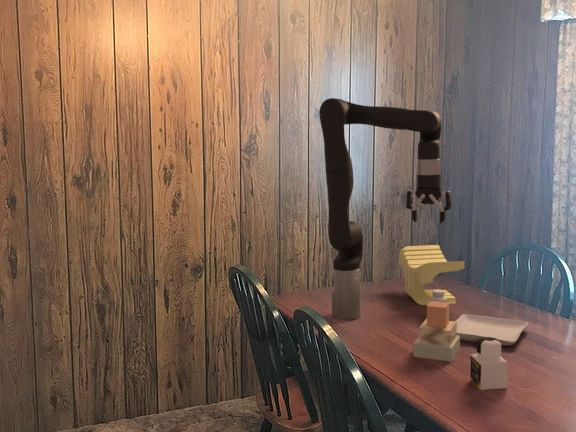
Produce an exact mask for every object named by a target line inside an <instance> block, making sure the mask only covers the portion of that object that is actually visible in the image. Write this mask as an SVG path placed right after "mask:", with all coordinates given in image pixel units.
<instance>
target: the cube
mask: <svg viewBox="0 0 576 432" xmlns="http://www.w3.org/2000/svg"><path fill="white" fill-rule="evenodd" d="M450 305H451V304H450V303H448V302H436V301H430V303H429V304H428V305H426V319H427V326H430V327H440V328H446V327H447V326H448V324H449V321H450Z"/></svg>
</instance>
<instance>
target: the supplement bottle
mask: <svg viewBox="0 0 576 432" xmlns="http://www.w3.org/2000/svg"><path fill="white" fill-rule="evenodd" d="M432 290H433V291H432V295H433V296H432V297H431V299H430V301H436V302H447V300H446V297H444V290H445V289H439V288H437V289H432Z"/></svg>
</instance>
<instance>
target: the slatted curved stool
mask: <svg viewBox="0 0 576 432" xmlns="http://www.w3.org/2000/svg"><path fill="white" fill-rule="evenodd" d="M398 259H399V260H398V265H399V266H401V267H402V270H403V271H404V284H405V292H406V293H407V295H408V296H409V297H410V298H412V300H413V301H414V302H416V304H418V305H421V306H427V305H428V304H429V303H430V299H431V297H432V296H433V295H432V291H433V290H434V289H425V286H426V284H427V285H429V284H432V283H433V281H434V279H435V277H436V276H437V275H438V274H441V273H442V274H443V273H449V272H450V273H451V272H458V271H460V270H464V269H465V260H458V261H457V260H456V261H447V258H445V255H444V254H443V252H442V250H441V247H440V245H439V244H432V245H429V244H428V245H425V244H424V245H408V246H404V247H403V248H401V250H400V252H399V254H398ZM443 290H444V297H446V300H447V302H448V303H450V305H451V304H453V305H455V304H457V300H456V297H455V296H454V295H452V294H451V293H450V292H449V291H448V290H446V289H443Z"/></svg>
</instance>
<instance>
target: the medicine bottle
mask: <svg viewBox="0 0 576 432" xmlns="http://www.w3.org/2000/svg"><path fill="white" fill-rule="evenodd" d="M508 366H509V365H508V361H507V360H505V359H504V358H503V357H502V346H501V341H500V340H498V339H496V338H493V337H483V338H480V339H478V340H477V342H476V353H471V354H470V380H471V382H472V383H474V385H475V386H476V387H477V388H478V389H479V390H480V391H487V390H500V389H501V390H503V389H505V390H506V389H507V388H508Z"/></svg>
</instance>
